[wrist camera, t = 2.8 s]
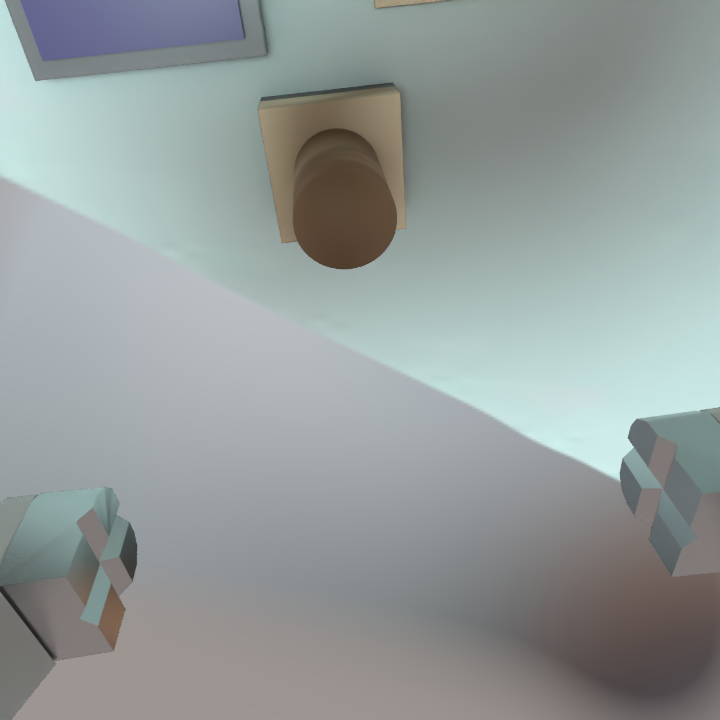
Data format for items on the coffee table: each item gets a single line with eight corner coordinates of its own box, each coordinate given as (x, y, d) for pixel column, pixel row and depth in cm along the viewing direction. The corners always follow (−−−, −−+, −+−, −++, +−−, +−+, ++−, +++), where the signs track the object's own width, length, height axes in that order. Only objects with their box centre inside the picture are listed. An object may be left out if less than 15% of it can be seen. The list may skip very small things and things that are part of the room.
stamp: (392, 82, 22) (424, 126, 16) (398, 208, 25) (427, 284, 19) (261, 97, 22) (247, 146, 16) (283, 222, 25) (277, 302, 19)
